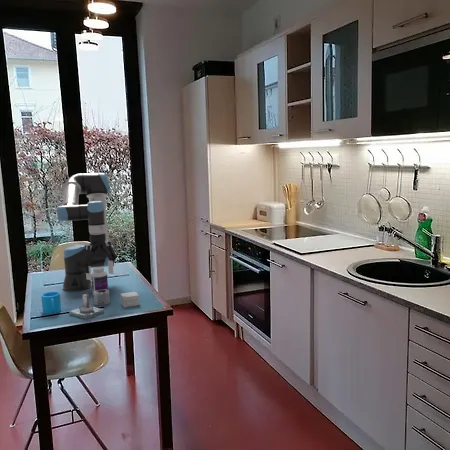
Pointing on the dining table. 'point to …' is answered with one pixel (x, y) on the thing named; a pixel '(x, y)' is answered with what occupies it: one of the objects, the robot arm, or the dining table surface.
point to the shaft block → (86, 309)
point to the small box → (129, 299)
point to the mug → (51, 302)
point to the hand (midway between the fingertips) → (100, 276)
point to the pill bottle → (99, 279)
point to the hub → (101, 297)
